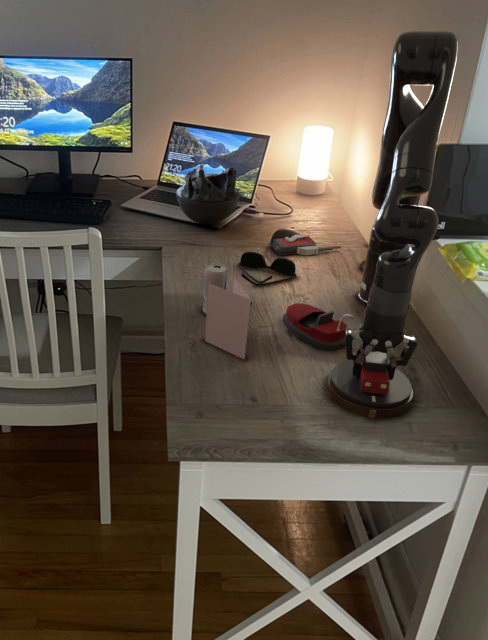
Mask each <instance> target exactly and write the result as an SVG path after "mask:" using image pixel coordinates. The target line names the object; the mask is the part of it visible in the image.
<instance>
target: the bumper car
mask: <svg viewBox="0 0 488 640" xmlns="http://www.w3.org/2000/svg"><path fill="white" fill-rule="evenodd" d="M334 315H335V312H334V311H333V310H331V311H327V312H326V311H325V310H323V309H321V308H318V307H316V306H314V305H311V304H307V303H299V302H296V303H293V304H290V305H288V306H287V307H286V311H285V313H284V314H283V315H282V324H283V325H284V327H285V328H287V329H288V330H289V332H290V333H292V334H294V335H295V336H296V337H298V338H299V339H301V340H302V341H304V342H306V343H307V344H309V345H312V346H314V347H316V348H319V349H321V350H325V351H330V350H336V349H339V348H342V347H344V346H346V338H345V330H346V329H348V325H347V323H346V322H344V321H343V320H344V318H345V317H350V319H351V320H354V319H355V318H356V316H355V314H350V313H345V314H343V315H341V318H340V319H338V320H335V319H333V318H334Z"/></svg>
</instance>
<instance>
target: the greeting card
mask: <svg viewBox="0 0 488 640" xmlns="http://www.w3.org/2000/svg"><path fill="white" fill-rule="evenodd" d="M232 285H233V286H232V291H230V290H227V289H226V290H225V289H223V288H220V287H218V286H215V285H213V284H210V283H209V288H208V303H207V314H206V317H205V318H206V320H205V335H204V341H205V342H206V343H209V344H210V345H212V346H215V347H217V348H219V349H221V350H223V351H225V352H228V353H229V354H231V355H234V356H235V357H238V358H241V359H242V360H245V359H246V351H247V342H248V332H249V323H250V322H249V321H250V312H251V307H252V305H253V302H252V299H251V298H250V297H249V295H248V294H247V292H246V291H245V290H244V288H243V286H242V285H241V284H240V282H239V281H238V280H237V278H236V277H235V276H234V277H233V284H232Z"/></svg>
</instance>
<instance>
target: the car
mask: <svg viewBox="0 0 488 640" xmlns="http://www.w3.org/2000/svg"><path fill="white" fill-rule="evenodd" d="M388 362H389V361H388V356H387V353H381V352H370V353H369V354H368V356H367V357H365V358H364V359H363V361H362V367H361V372H360V377H359V379H358V378H355V376H354V375H353V371H352V369H353V364H354V361H353V360H345V361H343V362H340V363H338V364H337V365H335V366H334V367H333V368H332V369H331V371H332V373H331V382H332V385H333V386H334V388H335V389H336V390H337V391H338V392H339V393H340V394H342V395H343V396H345V397H346V398H348V399H350V400H352V401H355V402H357V403H361V404H364V405H369V406H376V407H389V406H395V405H399V404H401V403H403V402H405V401H406V400H407V399H408V398H409V397H410V394H411V391H412V389H413V386H412V383H411V380H410V379H409V378H408V376H406V374H404V373H403V372H402V371H400V370H399V369H397V368H396V369H395V373H394V378H393V379H392V380H390V381H389V376H388V370H387V367H388Z"/></svg>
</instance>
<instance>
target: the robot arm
mask: <svg viewBox="0 0 488 640" xmlns="http://www.w3.org/2000/svg"><path fill="white" fill-rule="evenodd" d="M458 44H459V43H458V37H457V34H456V33H455V32H453V31H447V30H410V31H405V32H402V33H400V34H399V35H398V37H397V38H396V40H395V42H394V45H393V47H392V53H391V59H390V68H389V69H390V71H389V86H388V88H389V89H388V99H387V105H386V111H385V117H384V120H383V127H382V133H381V139H380V141H381V143H380V151H379V162H378V166H377V170H376V176H375V179H374V184H373V188H372V193H371V202H372V205H373V207H374V208H375V209H376V210H379V211H378V213H377V215H376V218H375V220H374V223H373V224H372V227H371V230H370V236H369V241H368V245H367V251H366V256H365V260H362V261H361V262H360V264H359V268H360V269H361V271H362V276H361V282H360V287H359V290H358V291H359V292H358V294H357V298H358V300H359V301H360V302H362V303H363V304H366V308H365V314H364V319H363V322H362V326H361V327H360V328H359V329H357V330H352V329H351V328H347V329H346V330H345V338H346V345H345V353H346V359H347V361H349V360H353V361H354V364H353V369H352V371H353V375H354V376H355V378H358V379H359V377H360V372H361V367H362V361H363V359H364V358H365V357H367V356H368V354H369V353H370V352H381V353H386V354H387V358H388V361H387V362H388V367H387V370H388V376H389V381H390V380H392V379H393V378H394V373H395V369H397V367H399V366H402V367H406V366H407V365H408V363H409V362H410V359H411V358H412V355H413V354H414V352H415V350H416V349H417V346H418V342H417V341H418V340H417V337H416V336H415V335H414V334H413V335H410V336H408V335H405V334H404V328H405V324H406V320H407V316H408V312H409V309H410V307H411V299H412V290H413V285H414V282H415V277H416V273H417V269H418V266H419V264H420V262H421V260H422V258H423V256H424V255H425V253H426V251H427V250H428V247H429V246H430V244H431V243H432V241H433V240H434V238H435V236H436V234H437V230H438V228H439V217H438V213H437V211H436V210H435V209H434V208H432V207H430V206H425V205H419V202H420V199H421V196H422V195H425V194H427V193H428V192H429V191H430V190H431V188H432V185H433V177H434V171H435V170H434V169H435V163H436V162H435V160H436V152H437V146H438V142H439V136H440V132H441V128H442V125H443V121H444V117H445V113H446V109H447V105H448V101H449V98H450V97H449V96H450V92H451V87H452V83H453V79H454V74H455V69H456V64H457V59H458V58H457V57H458V48H459V45H458ZM410 86H432V89H431V91H430V95H429V98H428V100H427V101H426V103H425V105H424V106H423V104H422V103H421V102H420V100H419V99H418V98H417V97H416V95H415V94H414V93H413V91H412V89H411V87H410ZM358 337H359V338H360V340H361V343H360V345H359V348H358V349H357V350H356V351H354V347H353V343H355V342H356V341H357V338H358ZM401 343H403V346H404V347H403V349H402V350H401V353H400V354H399V356H396V354H395V350H394V349H396V348H397V346H399V345H400V344H401Z"/></svg>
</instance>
